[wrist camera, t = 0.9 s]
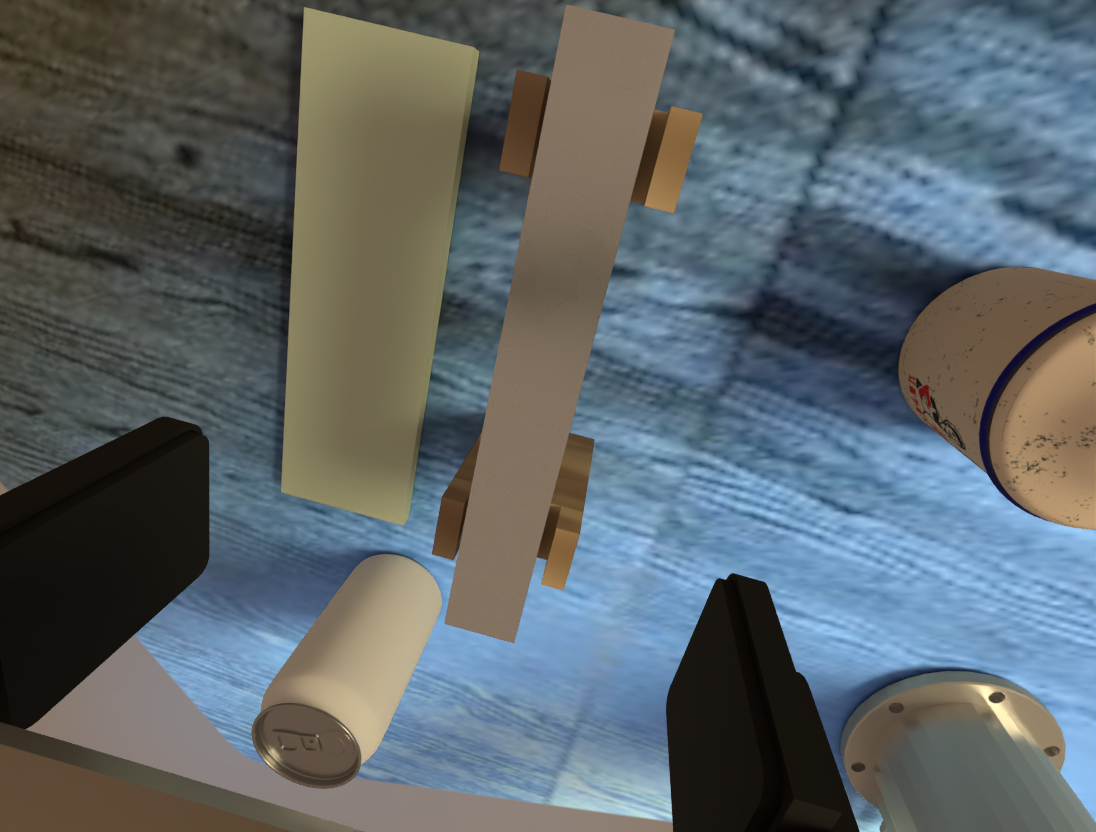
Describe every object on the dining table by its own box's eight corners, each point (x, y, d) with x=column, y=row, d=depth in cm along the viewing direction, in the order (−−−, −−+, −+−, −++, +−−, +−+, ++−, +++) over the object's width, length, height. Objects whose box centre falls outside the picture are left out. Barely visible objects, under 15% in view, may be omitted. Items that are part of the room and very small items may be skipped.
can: (451, 629, 40) (380, 799, 29) (363, 627, 41) (262, 790, 30) (435, 549, 38) (352, 701, 27) (342, 550, 39) (226, 695, 28)
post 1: (581, 484, 34) (563, 590, 25) (484, 458, 35) (432, 554, 26) (594, 439, 33) (579, 534, 24) (493, 413, 34) (441, 497, 25)
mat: (408, 517, 37) (403, 525, 36) (289, 484, 37) (280, 492, 36) (479, 51, 27) (473, 47, 26) (315, 13, 27) (304, 7, 26)
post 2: (661, 204, 28) (673, 213, 19) (541, 174, 29) (499, 170, 20) (680, 137, 27) (703, 113, 18) (555, 107, 27) (516, 69, 18)
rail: (529, 582, 28) (513, 643, 24) (469, 565, 28) (444, 623, 24) (667, 59, 19) (674, 29, 16) (579, 39, 19) (566, 4, 16)
